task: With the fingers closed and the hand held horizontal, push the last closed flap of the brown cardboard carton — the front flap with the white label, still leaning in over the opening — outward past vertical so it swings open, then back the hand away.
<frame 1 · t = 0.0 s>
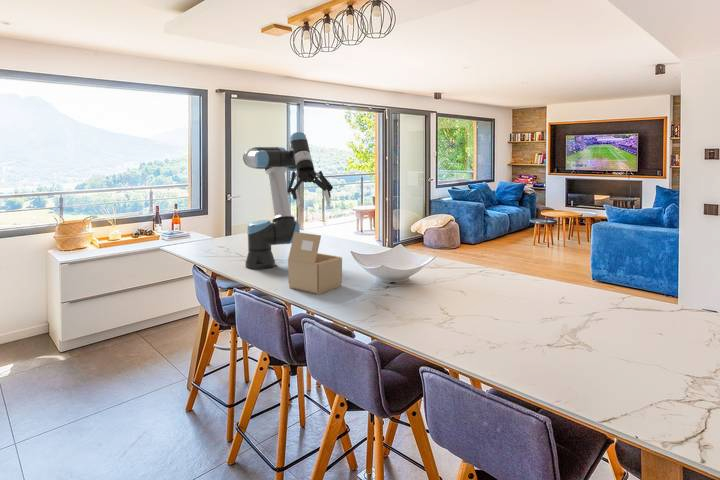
hand: (314, 204, 203), 36 cm above the kitchen island, tool tilted 35°, fingers open, 13 cm apart
front flap: (304, 247, 198), point 19 cm above the kitchen island, hinge at -20.0°
carton: (315, 287, 207), on the kitchen island
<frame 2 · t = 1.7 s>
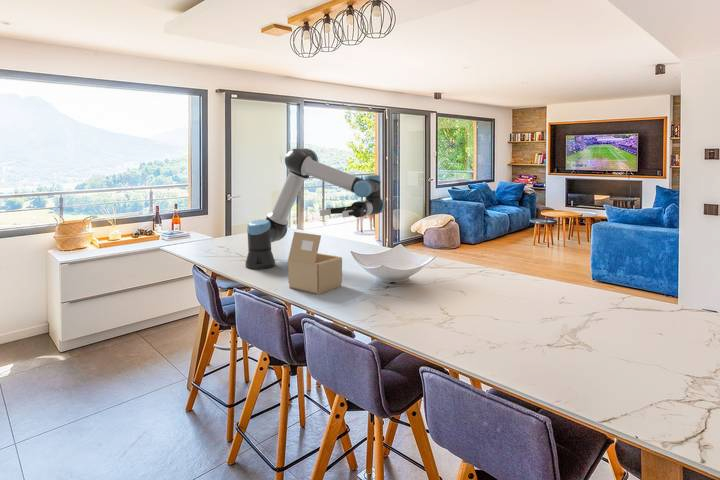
hand: (331, 213, 211), 31 cm above the kitchen island, tool horizontal, fingers open, 13 cm apart
nothing on the kitchen island moved.
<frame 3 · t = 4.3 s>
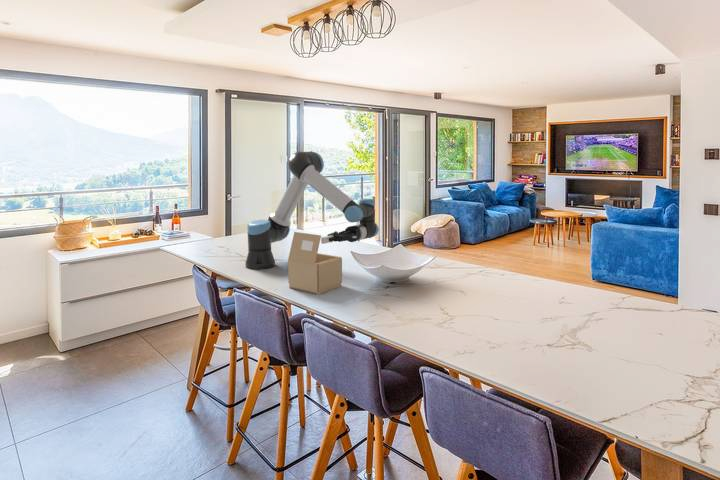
hand: (322, 240, 207), 20 cm above the kitchen island, tool horizontal, fingers closed
nothing on the kitchen island moved.
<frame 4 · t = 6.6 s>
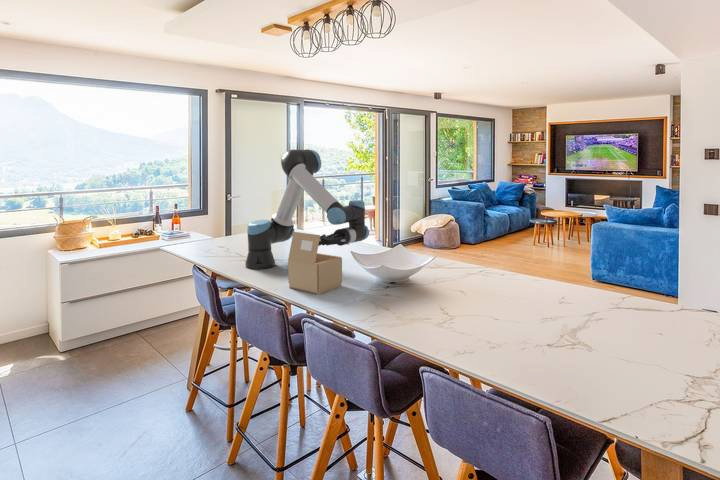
hand: (309, 244, 198), 20 cm above the kitchen island, tool horizontal, fingers closed
front flap: (303, 247, 198), point 19 cm above the kitchen island, hinge at -17.3°, touching gripper
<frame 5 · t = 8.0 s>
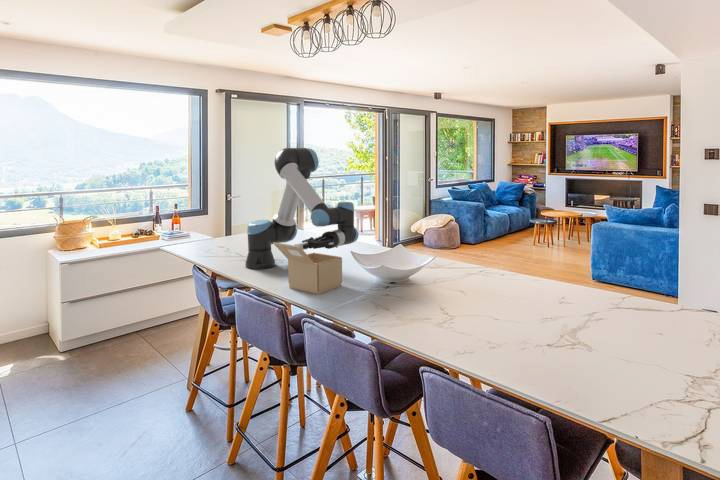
hand: (296, 247, 191), 20 cm above the kitchen island, tool horizontal, fingers closed
front flap: (293, 253, 193), point 17 cm above the kitchen island, hinge at 45.1°, touching gripper
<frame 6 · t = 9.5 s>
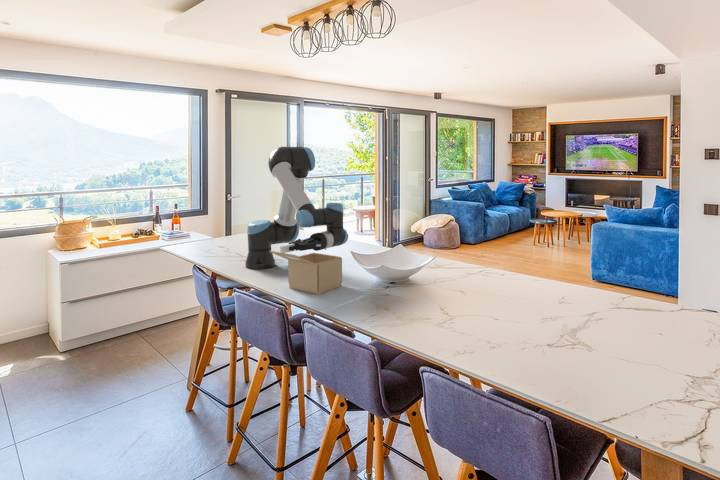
hand: (281, 249, 187), 20 cm above the kitchen island, tool horizontal, fingers closed
front flap: (291, 257, 193), point 16 cm above the kitchen island, hinge at 63.8°, touching gripper
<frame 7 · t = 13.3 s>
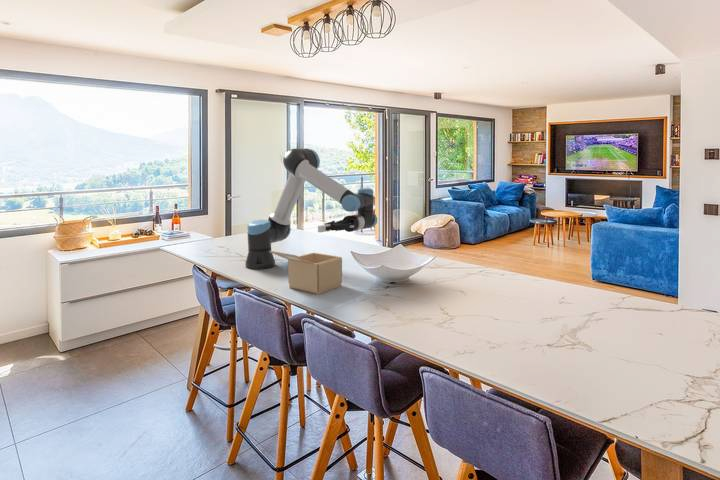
hand: (319, 229, 204), 25 cm above the kitchen island, tool horizontal, fingers closed
front flap: (291, 257, 193), point 16 cm above the kitchen island, hinge at 63.9°
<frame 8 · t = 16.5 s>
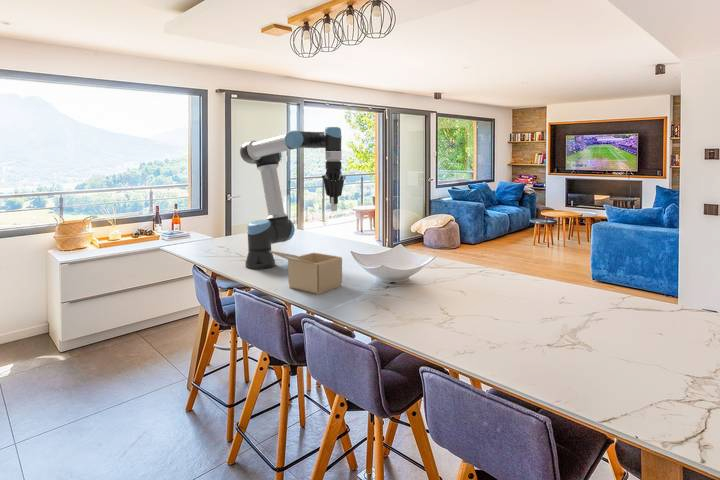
hand: (333, 210, 227), 30 cm above the kitchen island, tool pointing down, fingers closed
nothing on the kitchen island moved.
at the end: front flap at +64° (first picture: -20°) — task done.
